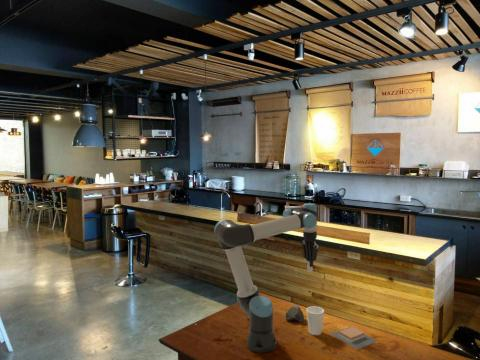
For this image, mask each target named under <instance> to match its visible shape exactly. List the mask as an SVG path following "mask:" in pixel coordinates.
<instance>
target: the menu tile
mask: <svg viewBox="0 0 480 360" xmlns="http://www.w3.org/2000/svg"><path fill="white" fill-rule="evenodd" d="M349 327H350V328H348V327H346V328H347V329H346V328H344V329H345V330H343V329H341V330H342V331H340V330H338V331H339V336H340V337H342V338H344V339H346V340H348V341H349V342H353V341H356V340H358V339H361V338H363V337H364V334H365V332H364V331H362V330H360V329H358V328H356V327H354V326H349Z"/></svg>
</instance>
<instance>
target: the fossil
mask: <svg viewBox="0 0 480 360" xmlns="http://www.w3.org/2000/svg"><path fill="white" fill-rule="evenodd" d="M285 319H286V320H287V321H288V322H290V321H293V320H296V321H298V322H299V323H301V322H304V321H305V316H304V313H303V311H302V309H301V308H300V306H299V305H298V304H295V305H292V306H290V308H289V309H288V310H287V312H285Z"/></svg>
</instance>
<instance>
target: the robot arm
mask: <svg viewBox="0 0 480 360" xmlns="http://www.w3.org/2000/svg"><path fill="white" fill-rule="evenodd" d="M317 222H318V207H317V204H316V203H311V202H309V203H303V206H302V207H297V208H296V207H295V208H287V209H285V210H283V212H282V217H280V218H276V219H275V218H274V219H272V220H267V221H263V222H259V223H256V224H250V223H247V224H237V223H236V222H235V221H233V220H231V219H226V218H225V219H224V218H223V219H221V220H219V221H218V222H216V224H215V226H214V230H213V231H214V232H213V233H214V236H215V238H216V239H217V240H218V243H219V246H220V249H221V250H222V251H225V254H226V257H227V261H228V263H229V266H230V270H231V273H232V276H233V278H234V282H235V285H236V287H237V292H236V296H237V297H236V298H237V300H236V301H237V304H238V306H239V308H240V310H242V311H243V312H244V314H245V315H246V316H247V318H248V319H249V332H248V335H247V338H246V347H247V348H248V350H250V351H252V352H254V353H259V354H260V353H261V354H262V353H263V354H264V353H265V354H266V353H270V352H272V351H273V350H275V349H276V347H277V338H276V336H275V333H274V329H273V328H274V324H273V323H274V321H273V320H274V307H273V302H272V300H271V299H270V298H268V297H266V296H264V295H261V294H260V292H259V289H258V286H257V285H254V283H253V279H252V277H251V273H250V270H249V268H248V264H247V261H246V258H245V257H246V256H245V255H244V251H243V248H242V247H243V246H246V245H250V244H254V243H255V241H257V240H261V239H265V238H269V237H272V236H277V235H280V234H283V233H287V232H291V231H296V230H300V229H302V230H303V232H302V235H303V236H302V237H303V240H301V241H300V244H301V246H302V252H303V258H304V259H305V260H306V266H307V270H306V272H307V273H312V272H313V267H314V261H317V256H318V252H319V248H320V244H318V243H317V241H316V239H317V237H318V234H317V233H318V232H317V230H318V229H317V228H318V227H317V226H318V223H317Z"/></svg>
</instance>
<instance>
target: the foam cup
mask: <svg viewBox="0 0 480 360" xmlns="http://www.w3.org/2000/svg"><path fill="white" fill-rule="evenodd" d="M305 310H306V312H305V313H306V319H307V325H308V326H307V327H308V333H309V334H310V335H312V336H320V335H321V334H322V331H323V330H322V329H323V325H324V324H323V323H324V322H323V321H324V317H325V309H324V308H323V307H319V306H315V305H314V306H308V307H307V308H306V309H305Z"/></svg>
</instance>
